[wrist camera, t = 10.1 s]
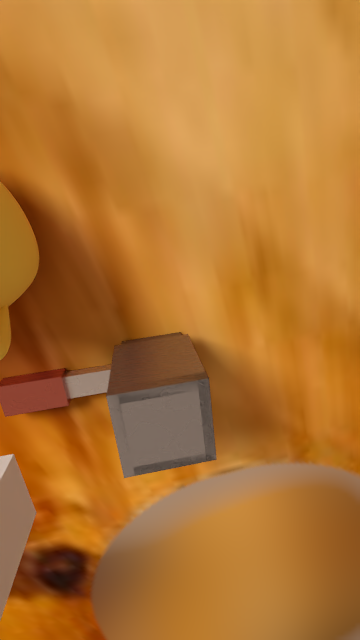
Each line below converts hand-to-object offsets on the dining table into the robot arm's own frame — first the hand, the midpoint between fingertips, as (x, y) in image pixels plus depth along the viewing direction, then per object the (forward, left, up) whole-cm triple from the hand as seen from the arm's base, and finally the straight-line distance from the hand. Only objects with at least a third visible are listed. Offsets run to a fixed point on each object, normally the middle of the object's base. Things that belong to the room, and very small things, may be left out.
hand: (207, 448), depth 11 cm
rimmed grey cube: (+6, -1, -19) cm, 20 cm away
